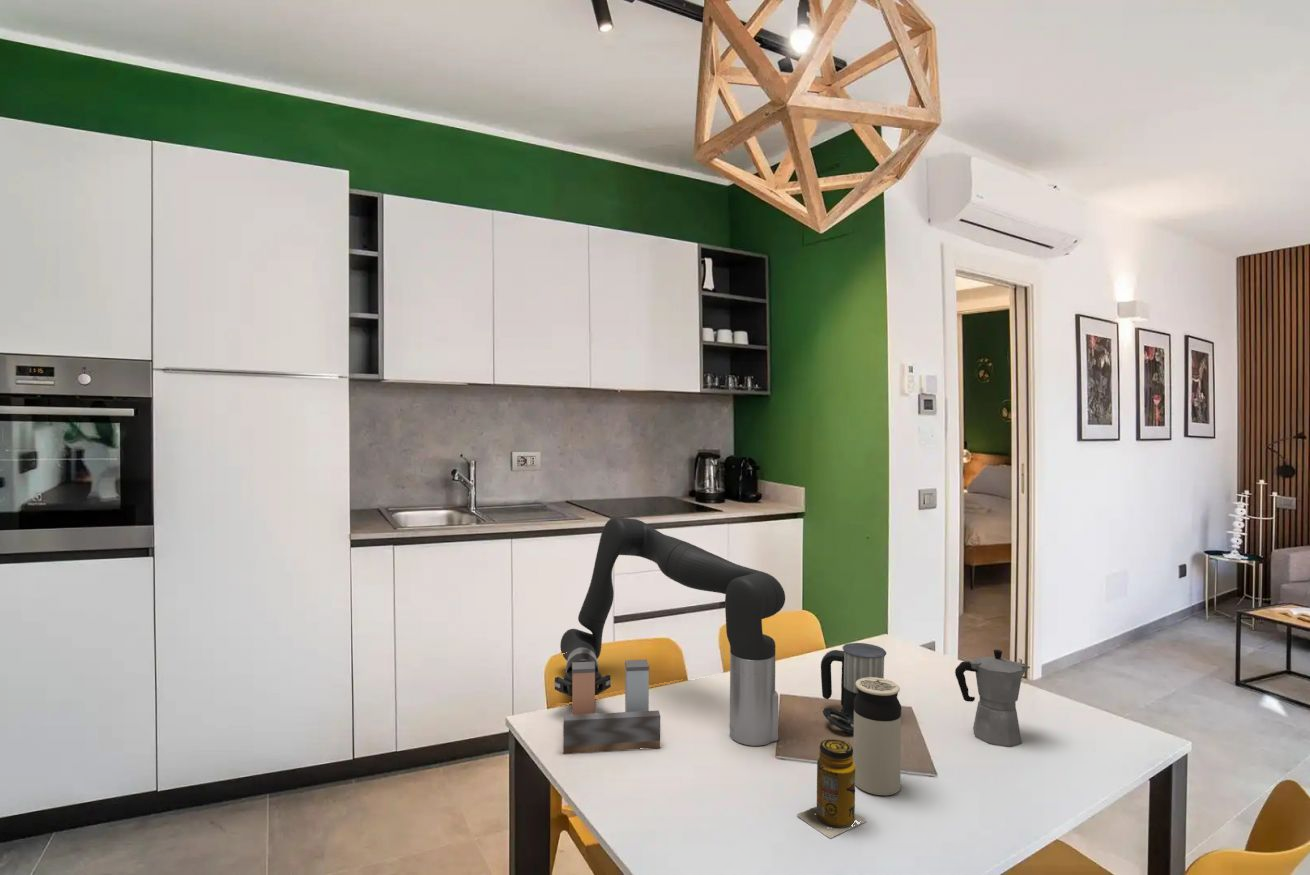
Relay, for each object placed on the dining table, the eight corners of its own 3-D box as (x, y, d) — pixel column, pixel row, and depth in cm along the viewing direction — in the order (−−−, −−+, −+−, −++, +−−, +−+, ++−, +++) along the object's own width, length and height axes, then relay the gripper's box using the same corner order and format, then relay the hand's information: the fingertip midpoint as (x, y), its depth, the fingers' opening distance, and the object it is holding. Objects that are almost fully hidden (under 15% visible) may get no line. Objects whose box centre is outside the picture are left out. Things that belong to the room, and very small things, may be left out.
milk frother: (880, 708, 153) (881, 643, 153) (896, 740, 138) (897, 667, 137) (816, 704, 155) (817, 640, 155) (825, 736, 139) (825, 664, 139)
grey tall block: (646, 719, 143) (646, 659, 142) (648, 728, 139) (649, 666, 138) (624, 720, 142) (625, 660, 142) (626, 729, 138) (626, 667, 138)
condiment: (866, 821, 109) (867, 748, 109) (830, 839, 105) (831, 762, 104) (831, 800, 115) (832, 731, 115) (796, 816, 111) (796, 744, 111)
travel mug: (894, 802, 115) (895, 697, 115) (847, 788, 119) (848, 687, 119) (904, 781, 122) (905, 682, 121) (860, 769, 126) (860, 673, 126)
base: (651, 717, 148) (651, 688, 148) (660, 748, 134) (660, 715, 134) (564, 722, 145) (564, 692, 145) (563, 753, 131) (563, 720, 131)
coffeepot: (1015, 726, 144) (1016, 642, 144) (1042, 747, 135) (1043, 657, 135) (944, 727, 144) (945, 642, 143) (966, 748, 134) (967, 658, 134)
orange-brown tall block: (594, 722, 141) (594, 661, 141) (595, 731, 137) (595, 668, 137) (572, 723, 141) (572, 662, 140) (572, 732, 137) (572, 669, 136)
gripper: (553, 653, 157) (551, 682, 140) (610, 651, 159) (615, 679, 142) (553, 685, 157) (551, 718, 140) (610, 683, 159) (615, 714, 142)
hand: (583, 698), depth 141 cm, fingers closed
